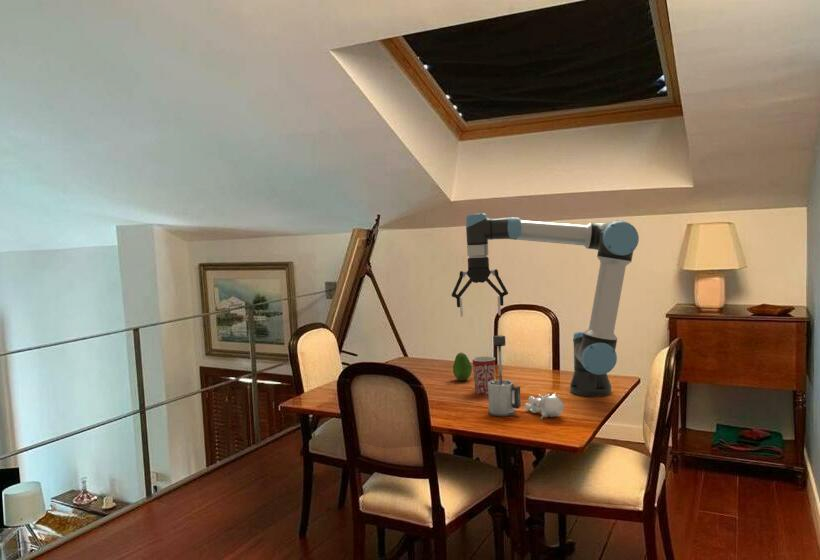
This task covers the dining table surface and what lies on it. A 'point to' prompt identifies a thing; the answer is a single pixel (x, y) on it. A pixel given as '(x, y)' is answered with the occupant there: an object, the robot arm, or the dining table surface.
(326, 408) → the dining table surface
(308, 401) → the dining table surface
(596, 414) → the dining table surface
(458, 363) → the avocado
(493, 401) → the grey coffee mug
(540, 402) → the figurine
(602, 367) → the robot arm
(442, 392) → the dining table surface
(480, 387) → the mug
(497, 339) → the plunger
